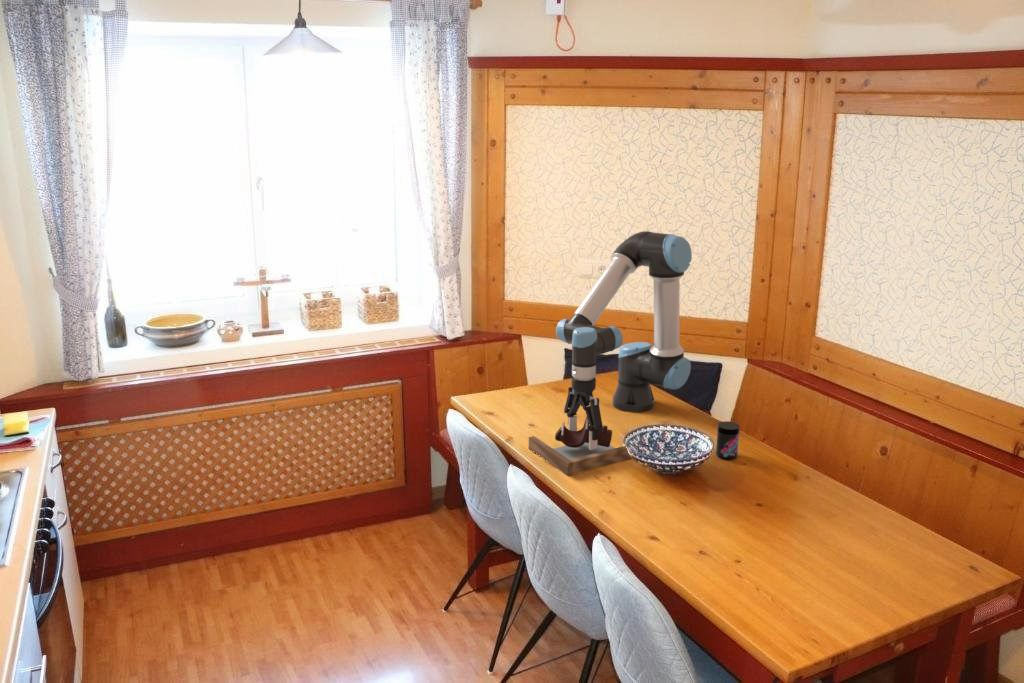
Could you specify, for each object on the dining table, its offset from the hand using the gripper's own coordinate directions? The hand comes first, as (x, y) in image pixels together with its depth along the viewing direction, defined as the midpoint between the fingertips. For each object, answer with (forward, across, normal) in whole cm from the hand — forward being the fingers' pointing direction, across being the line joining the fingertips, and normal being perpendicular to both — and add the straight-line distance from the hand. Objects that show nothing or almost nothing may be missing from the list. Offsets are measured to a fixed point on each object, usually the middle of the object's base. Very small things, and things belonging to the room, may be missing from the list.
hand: (582, 442), depth 275 cm
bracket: (+1, +1, 0) cm, 2 cm away
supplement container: (+3, +26, +37) cm, 45 cm away
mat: (+3, 0, 0) cm, 3 cm away
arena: (+3, +1, -2) cm, 4 cm away
